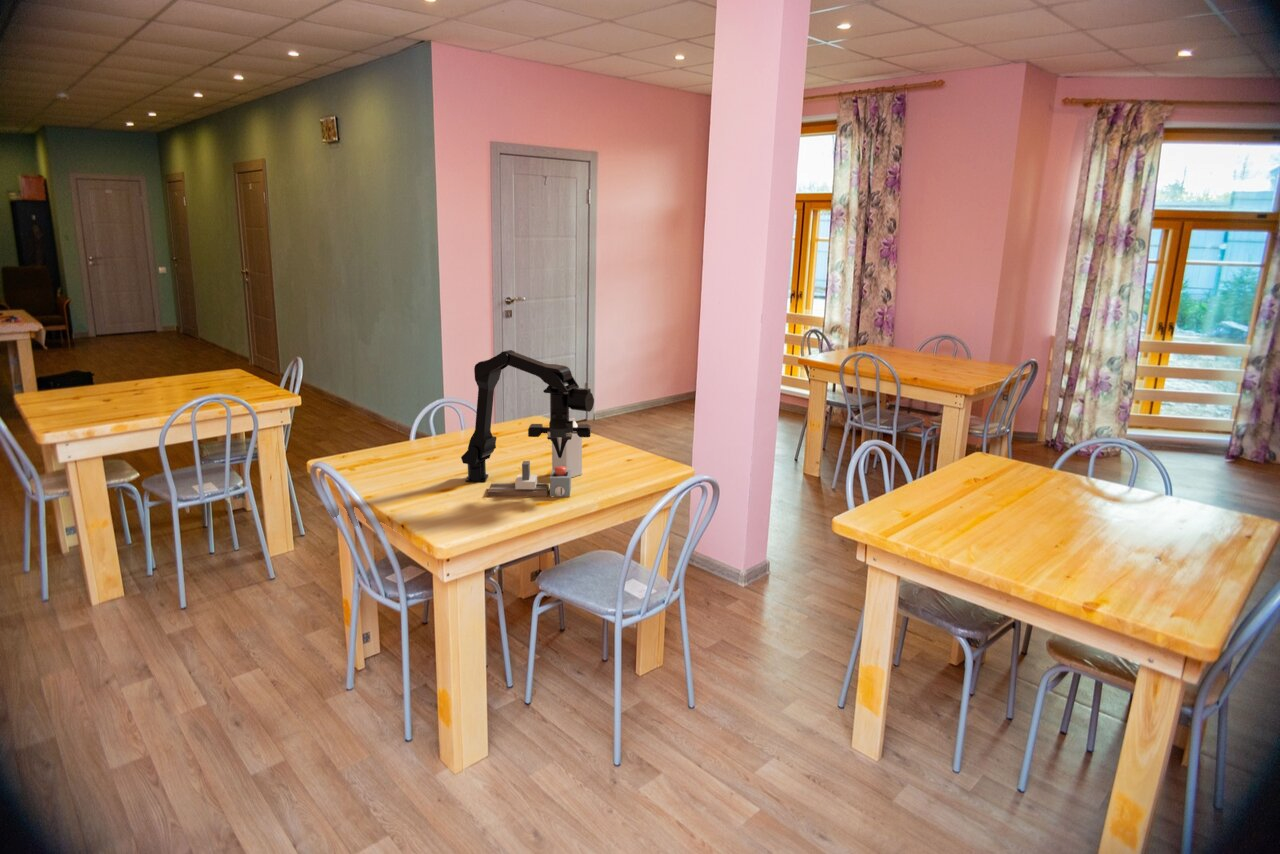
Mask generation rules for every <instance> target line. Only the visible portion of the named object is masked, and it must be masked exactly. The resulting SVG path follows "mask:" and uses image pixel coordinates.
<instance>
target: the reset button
mask: <svg viewBox="0 0 1280 854" xmlns="http://www.w3.org/2000/svg"><path fill="white" fill-rule="evenodd" d="M555 475H557V476H564V475H566V467H565V466H557V467H555Z"/></svg>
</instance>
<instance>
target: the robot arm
mask: <svg viewBox="0 0 1280 854" xmlns="http://www.w3.org/2000/svg"><path fill="white" fill-rule="evenodd" d="M509 366H510V367H512V368H514V369H517V370H520V371H523V372H526V373H528V374H531V375H534V376H535V377H538V378H540V379H541V381H542V383H543V382H544V383H545V384H547V385H548V386H547V387H546V388H544V389H543V393H544V394H549V404H550V405H549V408H550V409H549V415H550V416H549V419H550V420H549V426H544V425H543V423H531V424H529V426H528V429H527V437H530V438H539V437H540V436H541V435H542V434H546V435H547V437H546V440H548V441H549V440H550V441H551V443H552V442H553V444H554V446H555V449H556V452H557V455H558V458H561V457H562V454H563V450H564V447H565V445H566V443H567V441H568V440H571V439H572V434H577V435H578V436H579V437H582V438H590V437H591V434H592V433H591V431H592V429H591V428H592V427H591V425H590V424H589V423H587V424H585V423H584V424H583V423H582V424H581V423H579V424H578V423H577V425H578V427H573V421H569V419H570V410H572V411H578V412H579V411H580V412H587V413H588V412H589V413H590V412H592V410H593V407H594V405H595V404H594V403H595V399H594V395H593V393H592V392H591V391H592V390H591V388H588V387H587V388H584V387H583V388H581V387H580V386H579V384H578V383H577V381H576V380H575V377H574V376H573V374H572V371H571V369H570V368H569V367H568V366H566V365H562V364H557V363H555V364H553V363H551V364H550V363H545V362H542V361H539V360H538V359H537V360H536V359H535V358H531V357H529V356H526V355H523V354H521V353H518V352H516V351H514V350H512V349H508V350H504V351H501V352H500V353H498V354H497V355H495V356H494V357H491V358H489V359H486V360H482V361H478V362H477V363H476V364H475V365H474V368H473V372H474V381H475V383H476V385H477V390H478V391H477V401H476V413H475V414H476V415H475V426H474V432H473V434H472V435H471V437H470V439H469V443H468V447H467V450H466V451H465V453H464V454H463V455H461V457H460V458H461V461H462V463H463V464H465V465H467V477H466V478H465V480H464V481H465V482H466V483H467V482H470V483H471V482H472V483H474V482H476V483H477V482H478V483H480V482H484V483H485V482H487V480H488V478H489V474H487V470H486V468H487V467H486V460H489V459H490V458H491V456H492V454H493V453H494V451H495V449H497V445H496V443H497V436H493V433H492V431H491V427H492V416H493V406H494V395H495V388H496V386H497V384H498V382H499V380H500V378H501V373H502V370H504V369H506V368H507V367H509ZM559 437H561V438H562V440H561V448H560V446H559Z"/></svg>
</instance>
